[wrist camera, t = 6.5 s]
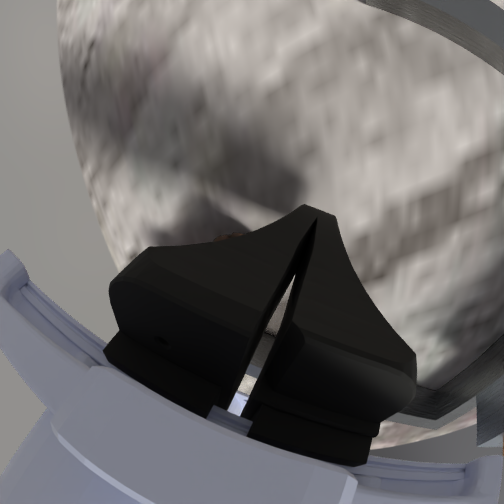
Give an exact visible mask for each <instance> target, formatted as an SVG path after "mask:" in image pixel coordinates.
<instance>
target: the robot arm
mask: <svg viewBox="0 0 504 504" xmlns="http://www.w3.org/2000/svg"><path fill="white" fill-rule="evenodd" d="M294 275H295V278H294V282H293V285H292V289H291V292H290V296H289V299H288V303H287V306H286V310H285V313H284V317H283V320H282V323H281V326H280V328H279V331H278V333H277V336H276V338H275V340H274V343H273V345H272V347H271V350H270V352H269V354H268V356H267V359H266V361H265V363H264V365H263V368H262V370H261V372H260V374H259V377H258V379H257V381H256V383H255V385H254V387H253V390H252V392H251V394H250V396H249V395H247V394H245V393H242V392H240V391H238V388H239V386H240V383H241V381H242V379H243V377H244V375H245V373H246V371H247V369H248V367H249V364H250V362H251V360H252V358H253V356H254V354H255V351H256V349H257V347H258V345H259V343H260V341H261V338H262V336H263V334H264V332H265V329H266V327H267V325H268V323H269V321H270V319H271V317H272V315H273V313H274V311H275V310H276V308H277V306H278V304H279V303H280V301H281V299H282V297H283V295H284V294H285V292H286V290H287V288H288V286H289V285H290V283H291V281H292V279H293V277H294ZM109 297H110V303H111V306H112V309H113V312H114V315H115V318H116V321H117V324H118V327H119V332H118V333H117V334H116V335H115V336H114V337H113V338H112V340H111V341H110V342H109V343H108V344H107V343H106V342H104V341H103V340H102V339H100V338H99V337H97V336H96V335H95V334H93V333H92V332H91V331H89V330H88V329H87V328H85V327H84V326H83V325H82V324H80V323H79V322H78V321H76V320H75V319H74V318H73V317H71V316H70V315H69V314H68V313H67V312H65V311H64V310H63V309H62V308H60V307H59V306H58V305H57V304H56V303H55V302H54V301H52V300H51V299H50V298H49V297H48V296H47V295H46V294H44V293H43V292H42V291H41V290H40V289H39V288H38V287H37V286H36V285H35V284H34V283H33V282H32V281H31V280H30V279H29V275H28V273H27V271H26V269H25V267H24V265H23V263H22V262H21V261H20V259H19V258H18V257H16V255H15V254H13V252H11V250H9V249H7V250H6V251H5V252H4V253H2V254H1V255H0V348H1V350H2V351H3V353H4V354H5V356H6V357H7V359H8V360H9V361H10V362H11V364H12V366H13V367H14V368H15V370H16V371H17V372H18V374H19V375H20V376H21V378H22V379H23V380H24V381H25V383H26V384H27V385H28V386H29V387H30V389H31V390H32V391H33V392H34V393H35V395H36V396H37V397H38V398H39V399H40V400H41V402H43V404H44V405H45V406H46V407H47V409H46V410H45V412H44V413H43V414H42V416H41V417H40V418H39V420H38V421H37V422H36V424H35V425H34V427H33V428H32V430H31V431H30V432H29V434H28V435H27V437H26V438H25V439H24V441H23V442H22V444H21V445H20V447H19V448H18V450H17V451H16V453H15V454H14V456H13V457H12V459H11V460H10V462H9V463H8V465H7V466H6V468H5V470H4V471H3V473H2V474H1V476H0V504H498V499H499V493H500V485H501V476H502V464H503V456H502V455H488V456H483V457H479V458H477V459H474V460H472V461H470V462H468V463H467V464H448V463H426V462H414V461H405V460H397V459H389V458H383V457H377V456H371V455H369V451H370V446H371V442H372V437H373V438H374V437H376V436H377V435H378V434H379V429H380V423H381V422H382V421H384V420H386V419H387V418H389V417H391V416H393V415H394V414H396V413H398V412H399V411H401V410H402V409H403V408H405V407H406V406H407V405H408V404H410V403H411V402H412V400H413V398H414V397H415V395H416V381H417V362H416V354H415V353H414V351H413V350H412V349H411V348H410V347H409V346H408V345H407V344H406V343H405V341H404V340H403V339H402V338H401V337H400V336H399V335H398V334H397V333H396V332H395V330H394V329H393V328H392V327H391V325H390V324H389V323H388V322H387V320H386V319H385V318H384V317H383V315H382V314H381V313H380V311H379V310H378V309H377V307H376V306H375V304H374V303H373V301H372V300H371V298H370V297H369V295H368V294H367V292H366V290H365V289H364V287H363V286H362V284H361V282H360V280H359V278H358V276H357V274H356V273H355V271H354V269H353V267H352V265H351V262H350V260H349V257H348V255H347V252H346V249H345V247H344V244H343V241H342V238H341V234H340V231H339V227H338V223H337V219H336V217H335V216H334V215H331V214H329V213H326V212H324V211H321V210H319V209H316V208H313V207H311V206H308V205H305V204H304V205H301V206H300V207H298V208H297V209H295V210H294V211H292V212H291V213H289V214H288V215H286V216H284V217H282V218H281V219H279V220H277V221H275V222H273V223H271V224H269V225H267V226H265V227H263V228H260V229H258V230H255V231H253V232H250V233H247V234H244V235H241V236H237V237H233V238H228V239H224V240H219V241H215V242H208V243H202V244H193V245H183V246H160V247H148V248H147V249H146V250H144V251H143V252H142V253H141V254H139V255H138V256H137V257H136V258H135V259H134V260H133V261H132V262H131V263H130V264H129V265H128V266H126V267H125V268H124V269H123V270H122V271H121V272H120V273H119V274H118V275H117V276H116V277H115V278H114V279H113V280H112V281H111V282H110V286H109Z"/></svg>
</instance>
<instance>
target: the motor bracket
mask: <svg viewBox="0 0 504 504" xmlns="http://www.w3.org/2000/svg"><path fill="white" fill-rule="evenodd" d="M366 4H367V5H370V6H373V7H376V8H379V9H382V10H385V11H388V12H390V13H393V14H396V15H398V16H401V17H403V18H406V19H408V20H411V21H413V22H415V23H417V24H420V25H422V26H424V27H426V28H428V29H430V30H432V31H434V32H436V33H438V34H440V35H442V36H444V37H446V38H448V39H450V40H452V41H453V42H455V43H457V44H459V45H460V46H462V47H464V48H465V49H467V50H469V51H470V52H472V53H473V54H475V55H476V56H478V57H480V58H481V59H483V60H484V61H485V62H487V63H488V64H490V65H491V66H493V67H494V68H495V69H497V70H498V71H499V72H501V73H502V74H503V75H504V10H503V9H501V8H500V7H499V6H497V5H496V4H494V3H493V2H491V1H490V0H366ZM275 338H276V337H274V336H271V335H269V334H266V333H264V334H263V336H262V338H261V341H260V343H259V345H258V347H257V349H256V351H255V354H254V356H253V358H252V360H251V362H250V364H249V367H248V369H247V371H246V373H245V374H247V375H250V376H252V377H255V378H257V379H258V377H259V374H260V372H261V370H262V368H263V365H264V363H265V361H266V359H267V356H268V354H269V352H270V350H271V347H272V345H273V343H274V340H275ZM476 406H477V447H503V456H504V335H503V336H502V337H501V338H500V339H499V340H497V341H496V342H495V343H494V344H493V345H492V346H491V347H490V348H489V349H488V350H487V351H486V352H485V353H484V354H483V355H481V356H480V357H479V358H478V359H477V360H476V361H475V362H473V363H472V364H471V365H470V366H469V367H468V368H466V369H465V370H464V371H463V372H461V373H460V374H459V375H458V376H456V377H455V378H454V379H452V380H451V381H450V382H448V383H447V384H446V385H444V386H443V387H442V388H440V389H439V390H437V391H434V390H431V389H427V388H423V387H419V386H416V395H415V397H414V398H413V400H412V402H411V403H410V404H408V405H407V406H406V407H405V408H403V409H402V410H401V411H399V412H398V413H396V414H394V415H393V416H391V417H389V418H387V419H386V420H388V421H392V422H397V423H402V424H407V425H412V426H417V427H423V428H429V429H435V430H437V429H438V428H440V427H442V426H444V425H446V424H448V423H450V422H451V421H453V420H455V419H457V418H458V417H460V416H462V415H464V414H465V413H467V412H468V411H470V410H472V409H473V408H475V407H476Z"/></svg>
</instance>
